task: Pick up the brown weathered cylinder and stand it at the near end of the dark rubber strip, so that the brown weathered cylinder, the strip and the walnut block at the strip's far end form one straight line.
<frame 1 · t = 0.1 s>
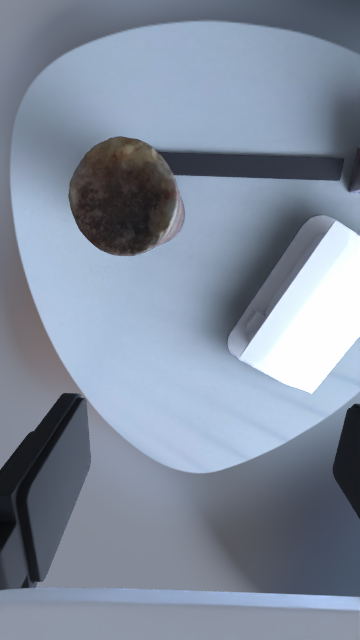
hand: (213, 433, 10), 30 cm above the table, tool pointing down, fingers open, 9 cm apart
brown weathered cylinder: (155, 215, 36), on the table
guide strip: (232, 166, 34), on the table
white flat lidded device: (307, 309, 40), on the table
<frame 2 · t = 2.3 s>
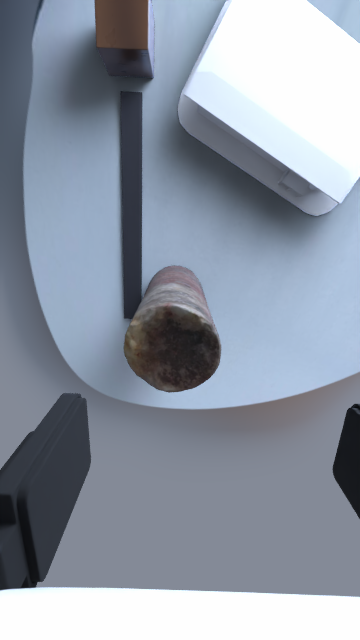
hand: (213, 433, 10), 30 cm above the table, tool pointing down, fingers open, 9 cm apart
brown weathered cylinder: (175, 292, 39), on the table
walnut block: (131, 49, 30), on the table
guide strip: (132, 218, 36), on the table
white flat lidded device: (286, 111, 32), on the table
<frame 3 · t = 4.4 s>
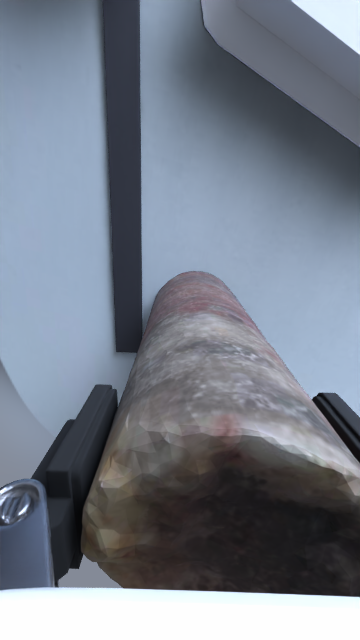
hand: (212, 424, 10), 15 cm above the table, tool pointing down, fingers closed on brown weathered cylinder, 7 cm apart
brown weathered cylinder: (195, 312, 25), on the table, touching gripper
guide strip: (126, 196, 22), on the table
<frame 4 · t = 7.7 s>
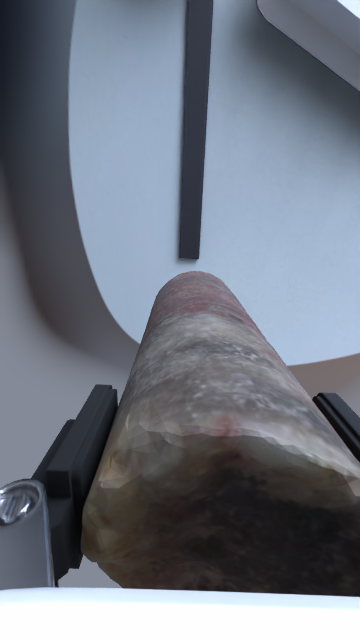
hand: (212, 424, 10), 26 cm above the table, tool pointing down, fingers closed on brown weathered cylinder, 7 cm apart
brown weathered cylinder: (195, 312, 25), point 11 cm above the table, touching gripper
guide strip: (194, 133, 30), on the table
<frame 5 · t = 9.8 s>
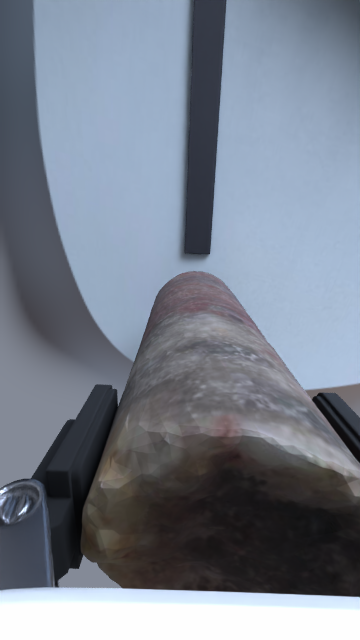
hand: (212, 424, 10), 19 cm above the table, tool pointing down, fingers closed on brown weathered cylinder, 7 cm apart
brown weathered cylinder: (195, 312, 25), point 3 cm above the table, touching gripper
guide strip: (205, 83, 23), on the table
when the fingers open (15 cm above the table, at t = 11.4 s): brown weathered cylinder stays where it is, on the table.
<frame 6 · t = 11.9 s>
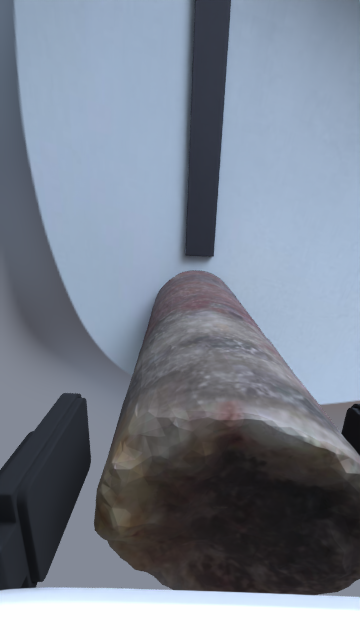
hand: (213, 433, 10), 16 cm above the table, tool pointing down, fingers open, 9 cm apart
brown weathered cylinder: (195, 310, 26), on the table
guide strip: (209, 63, 20), on the table
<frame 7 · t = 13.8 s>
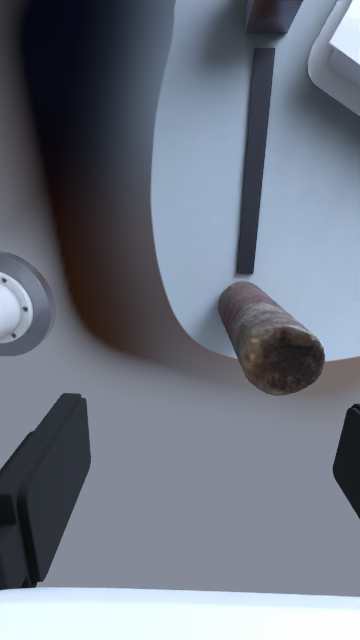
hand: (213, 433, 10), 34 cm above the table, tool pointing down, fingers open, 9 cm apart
brown weathered cylinder: (241, 305, 43), on the table
walnut block: (268, 6, 32), on the table
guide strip: (253, 173, 38), on the table
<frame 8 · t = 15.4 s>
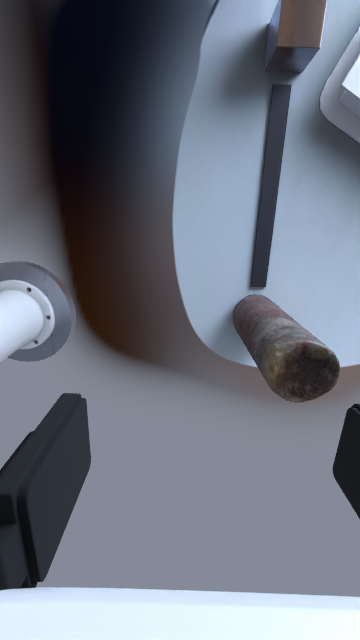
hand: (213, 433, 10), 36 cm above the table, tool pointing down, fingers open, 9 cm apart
brown weathered cylinder: (253, 315, 46), on the table
walnut block: (286, 48, 36), on the table
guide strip: (268, 196, 41), on the table
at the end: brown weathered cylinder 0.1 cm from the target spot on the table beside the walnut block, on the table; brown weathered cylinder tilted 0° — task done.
